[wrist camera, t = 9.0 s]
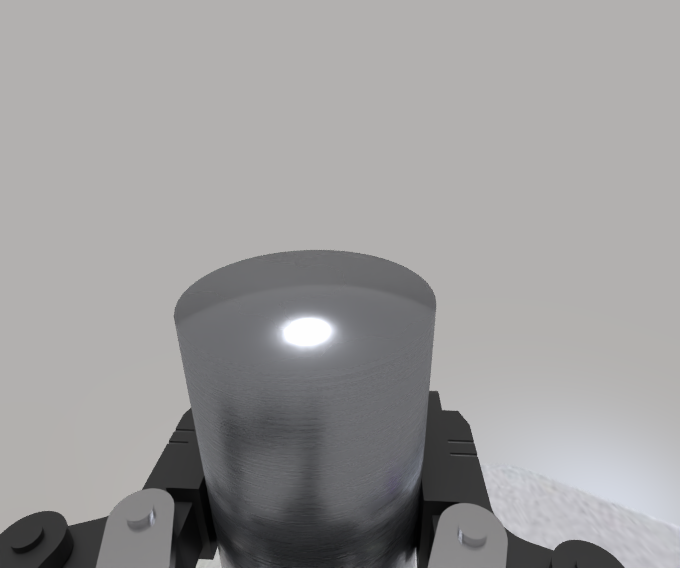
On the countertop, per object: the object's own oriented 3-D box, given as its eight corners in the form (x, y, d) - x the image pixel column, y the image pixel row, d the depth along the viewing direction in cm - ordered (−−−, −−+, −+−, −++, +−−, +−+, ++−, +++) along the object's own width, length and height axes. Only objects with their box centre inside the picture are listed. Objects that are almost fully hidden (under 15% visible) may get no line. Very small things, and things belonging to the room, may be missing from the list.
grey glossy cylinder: (220, 744, 11) (121, 365, 6) (262, 560, 15) (221, 248, 11) (412, 761, 11) (455, 374, 6) (401, 567, 15) (422, 250, 10)
